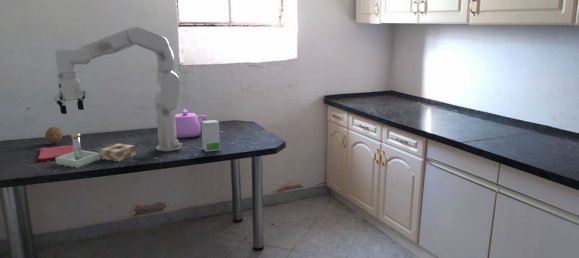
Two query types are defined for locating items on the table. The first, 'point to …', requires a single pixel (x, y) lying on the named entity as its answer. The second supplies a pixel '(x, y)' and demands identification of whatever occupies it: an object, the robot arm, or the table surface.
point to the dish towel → (54, 152)
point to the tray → (70, 160)
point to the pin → (76, 145)
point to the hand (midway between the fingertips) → (72, 111)
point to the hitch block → (117, 152)
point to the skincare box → (210, 135)
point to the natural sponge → (54, 135)
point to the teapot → (188, 124)
